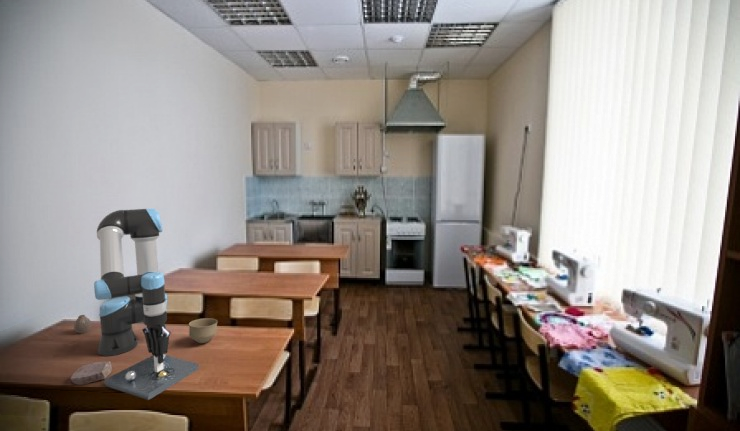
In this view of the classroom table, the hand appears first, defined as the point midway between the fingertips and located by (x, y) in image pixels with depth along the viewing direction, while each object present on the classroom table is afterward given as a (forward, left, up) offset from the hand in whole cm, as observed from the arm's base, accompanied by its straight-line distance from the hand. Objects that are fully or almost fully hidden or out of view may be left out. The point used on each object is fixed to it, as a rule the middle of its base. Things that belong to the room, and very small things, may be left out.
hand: (159, 370), depth 140 cm
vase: (-77, +16, -4) cm, 78 cm away
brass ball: (+2, 0, -2) cm, 3 cm away
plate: (-4, 0, -4) cm, 5 cm away
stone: (-26, -9, -4) cm, 28 cm away
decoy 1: (-9, +8, 0) cm, 11 cm away
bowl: (-10, +31, -4) cm, 33 cm away
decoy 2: (-6, -7, 0) cm, 9 cm away
